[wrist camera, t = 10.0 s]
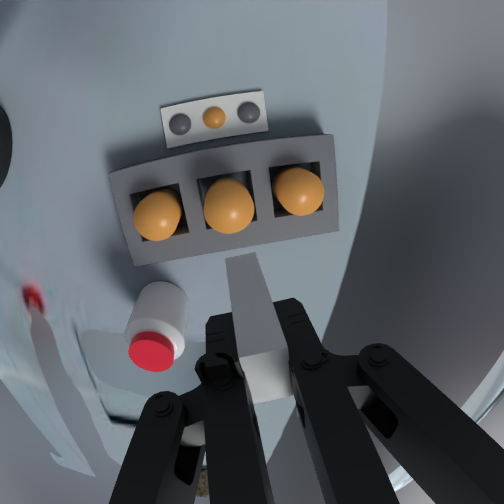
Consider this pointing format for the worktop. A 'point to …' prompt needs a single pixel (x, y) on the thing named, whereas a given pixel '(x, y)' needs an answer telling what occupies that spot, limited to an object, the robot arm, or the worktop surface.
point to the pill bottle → (157, 326)
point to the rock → (203, 485)
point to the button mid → (228, 206)
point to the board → (217, 163)
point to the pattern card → (214, 118)
